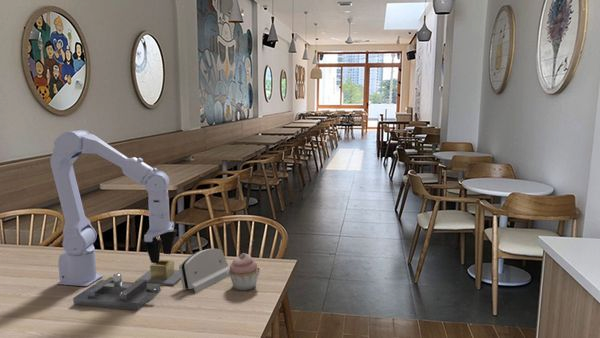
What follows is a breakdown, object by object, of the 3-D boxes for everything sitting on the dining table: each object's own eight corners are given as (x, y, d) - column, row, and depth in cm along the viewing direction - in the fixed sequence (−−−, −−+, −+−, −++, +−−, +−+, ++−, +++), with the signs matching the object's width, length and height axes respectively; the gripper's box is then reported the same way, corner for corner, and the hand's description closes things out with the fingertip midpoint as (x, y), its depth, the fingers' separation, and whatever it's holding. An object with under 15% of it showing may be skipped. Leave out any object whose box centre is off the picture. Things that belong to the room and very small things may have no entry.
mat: (135, 282, 131) (135, 280, 131) (152, 270, 141) (152, 268, 141) (173, 285, 129) (173, 283, 129) (188, 272, 139) (188, 270, 139)
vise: (73, 305, 117) (71, 281, 116) (101, 286, 129) (100, 264, 128) (146, 311, 114) (145, 286, 113) (169, 291, 125) (167, 269, 124)
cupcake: (220, 286, 128) (219, 253, 127) (246, 277, 135) (245, 245, 134) (242, 296, 122) (241, 260, 121) (267, 286, 129) (267, 252, 127)
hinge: (195, 293, 124) (185, 258, 124) (184, 295, 126) (173, 261, 127) (234, 273, 138) (224, 242, 138) (223, 275, 141) (213, 244, 141)
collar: (150, 278, 133) (150, 265, 132) (158, 272, 138) (158, 259, 137) (166, 279, 132) (166, 266, 132) (174, 273, 137) (173, 260, 136)
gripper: (160, 220, 124) (162, 267, 126) (182, 208, 139) (184, 250, 141) (136, 219, 126) (138, 266, 128) (161, 207, 140) (163, 249, 142)
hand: (161, 258), depth 134 cm, fingers open, 7 cm apart
